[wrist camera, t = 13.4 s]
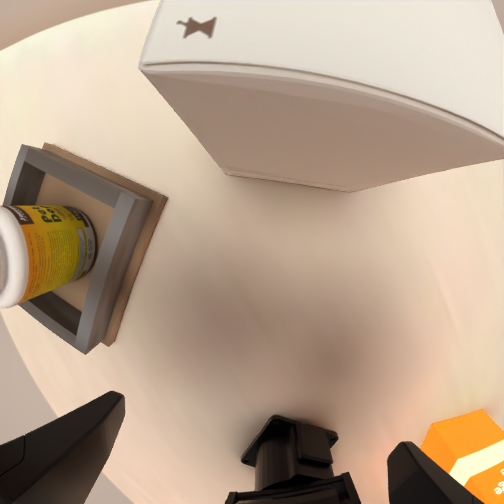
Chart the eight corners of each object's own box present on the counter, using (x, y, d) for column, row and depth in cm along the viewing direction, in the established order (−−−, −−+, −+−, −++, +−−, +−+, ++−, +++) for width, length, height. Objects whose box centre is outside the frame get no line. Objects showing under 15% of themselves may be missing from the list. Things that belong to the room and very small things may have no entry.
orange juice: (482, 408, 21) (577, 511, 1) (454, 462, 22) (518, 563, 2) (430, 423, 21) (523, 562, 1) (403, 478, 22) (458, 603, 2)
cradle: (114, 341, 21) (90, 363, 17) (15, 272, 20) (-14, 281, 16) (167, 197, 19) (145, 194, 15) (51, 144, 19) (21, 135, 15)
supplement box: (355, 196, 19) (536, 171, 4) (222, 175, 19) (117, 78, 4) (364, 78, 18) (471, -54, 3) (242, 57, 18) (216, -116, 3)
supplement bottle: (102, 209, 18) (-8, 212, 8) (96, 286, 19) (-2, 337, 9) (46, 202, 18) (-57, 203, 8) (42, 272, 19) (-53, 304, 9)
